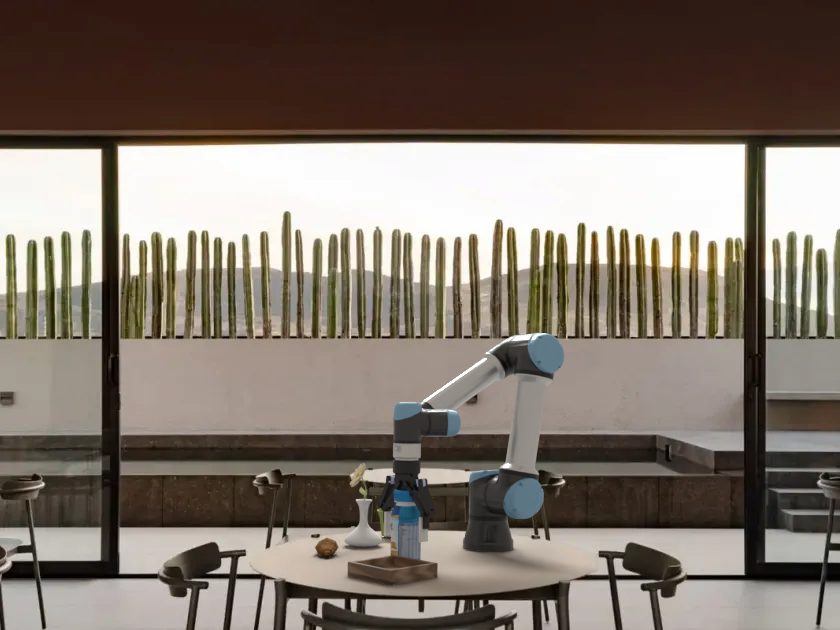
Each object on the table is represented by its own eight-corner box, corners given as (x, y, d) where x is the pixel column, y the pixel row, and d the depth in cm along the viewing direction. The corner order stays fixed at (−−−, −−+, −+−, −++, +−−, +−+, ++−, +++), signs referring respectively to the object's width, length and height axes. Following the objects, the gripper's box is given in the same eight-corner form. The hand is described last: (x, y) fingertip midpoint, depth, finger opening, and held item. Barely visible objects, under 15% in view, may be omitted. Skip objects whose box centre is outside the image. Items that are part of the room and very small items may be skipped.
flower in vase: (346, 543, 296) (347, 460, 298) (383, 543, 296) (384, 461, 298) (341, 550, 283) (342, 463, 285) (380, 550, 283) (381, 464, 285)
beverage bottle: (411, 568, 255) (412, 491, 256) (383, 565, 259) (384, 490, 260) (426, 563, 262) (427, 489, 263) (399, 560, 266) (400, 487, 268)
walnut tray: (394, 568, 255) (394, 554, 255) (437, 577, 243) (437, 563, 244) (347, 576, 244) (347, 561, 244) (390, 585, 232) (390, 570, 232)
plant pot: (393, 534, 315) (394, 507, 316) (412, 537, 308) (412, 510, 308) (370, 536, 309) (371, 509, 310) (389, 540, 302) (389, 512, 302)
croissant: (339, 559, 268) (340, 541, 269) (315, 559, 267) (315, 541, 268) (337, 551, 282) (337, 533, 282) (313, 551, 281) (314, 534, 281)
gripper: (366, 456, 269) (364, 534, 267) (429, 462, 251) (428, 545, 249) (385, 455, 274) (384, 531, 272) (449, 461, 256) (448, 542, 255)
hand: (405, 538), depth 261 cm, fingers open, 13 cm apart
